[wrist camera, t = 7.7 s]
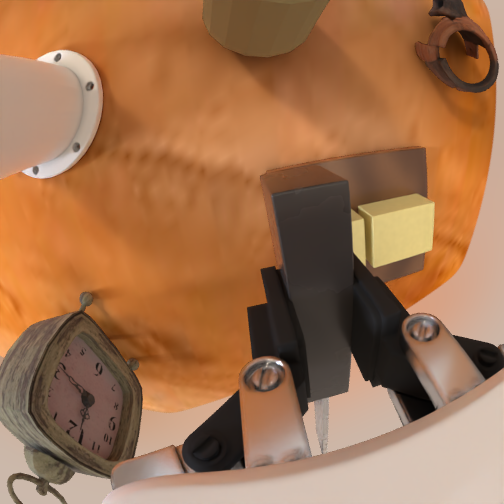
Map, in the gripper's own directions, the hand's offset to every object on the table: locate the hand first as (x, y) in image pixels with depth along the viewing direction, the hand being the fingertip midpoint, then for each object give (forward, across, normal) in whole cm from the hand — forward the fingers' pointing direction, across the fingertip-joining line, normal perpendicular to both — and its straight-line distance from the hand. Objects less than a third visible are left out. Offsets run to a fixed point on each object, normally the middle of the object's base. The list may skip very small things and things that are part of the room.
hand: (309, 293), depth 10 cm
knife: (+1, 0, +4) cm, 4 cm away
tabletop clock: (+15, +23, +12) cm, 30 cm away
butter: (+14, -12, +5) cm, 19 cm away
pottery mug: (+15, -22, -14) cm, 31 cm away
